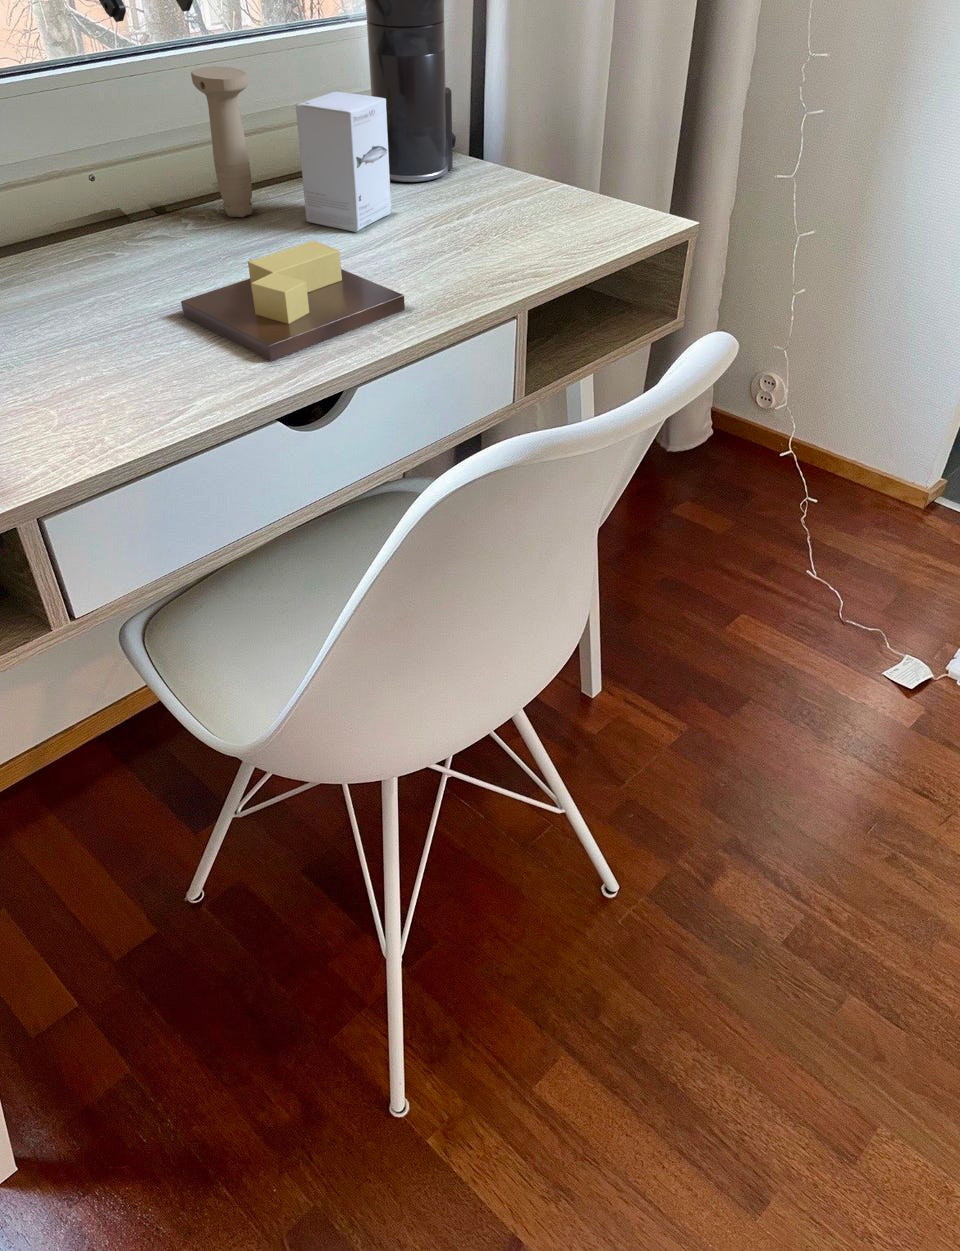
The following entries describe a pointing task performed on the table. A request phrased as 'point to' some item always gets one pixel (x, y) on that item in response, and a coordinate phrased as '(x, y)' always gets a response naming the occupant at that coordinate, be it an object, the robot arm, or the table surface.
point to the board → (274, 339)
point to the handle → (227, 135)
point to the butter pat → (280, 298)
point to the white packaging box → (344, 159)
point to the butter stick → (301, 265)
